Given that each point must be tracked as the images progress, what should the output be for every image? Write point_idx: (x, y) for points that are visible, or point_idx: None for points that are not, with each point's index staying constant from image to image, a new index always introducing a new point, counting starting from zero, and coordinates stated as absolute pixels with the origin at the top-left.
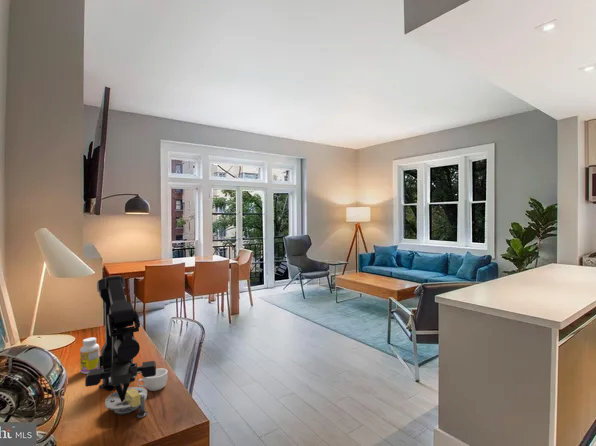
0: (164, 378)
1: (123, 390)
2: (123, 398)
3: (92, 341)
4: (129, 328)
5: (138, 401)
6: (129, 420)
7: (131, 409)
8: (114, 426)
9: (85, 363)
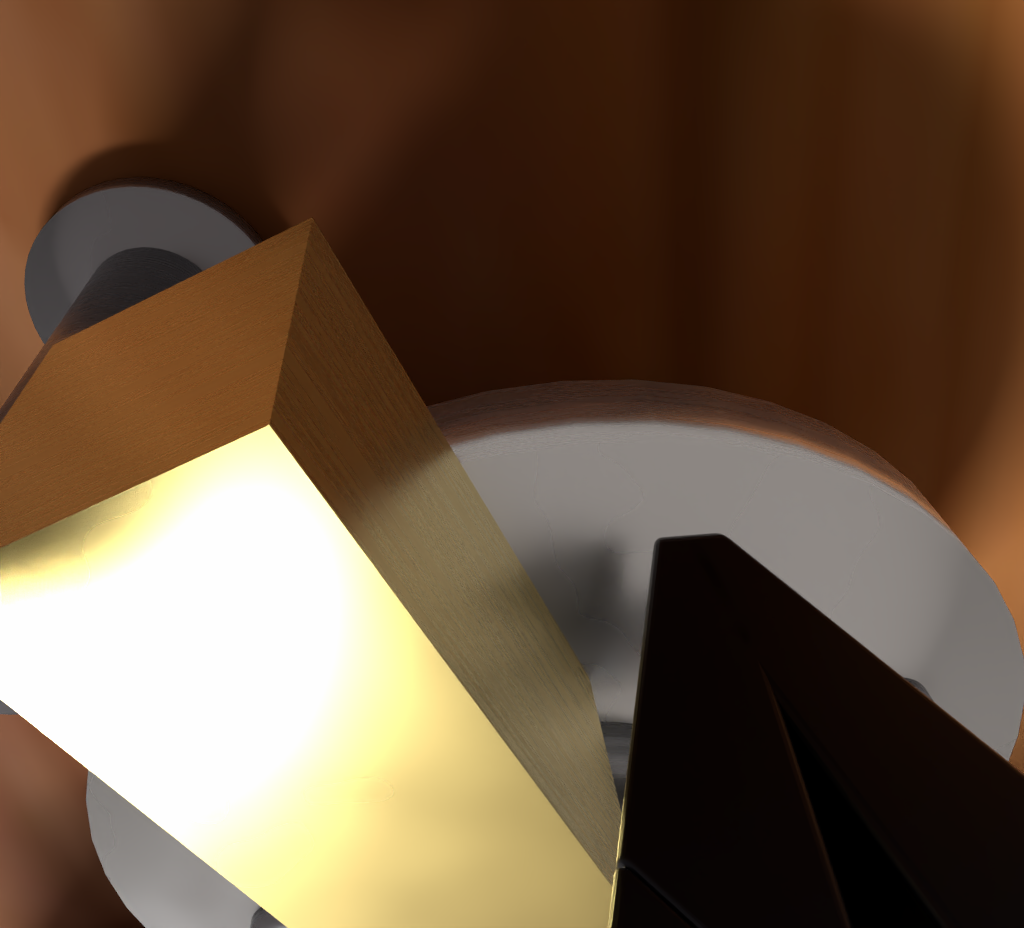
0: None
1: (818, 921)
2: (680, 601)
3: None
4: None
5: (68, 380)
6: (423, 171)
7: None
8: (745, 19)
9: None
